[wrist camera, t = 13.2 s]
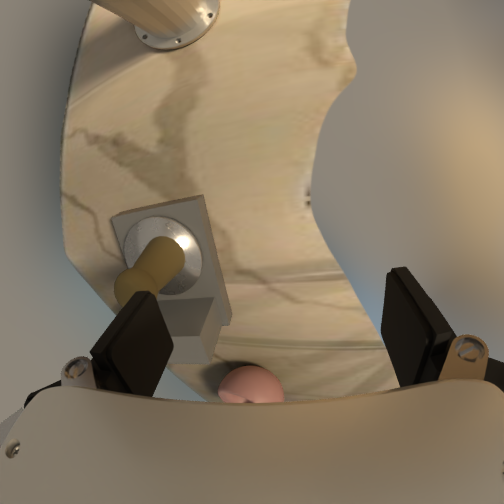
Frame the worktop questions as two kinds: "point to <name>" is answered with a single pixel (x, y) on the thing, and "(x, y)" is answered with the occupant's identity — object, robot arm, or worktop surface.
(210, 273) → the scale
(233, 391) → the mortar and pestle
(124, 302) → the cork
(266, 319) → the worktop surface
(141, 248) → the scale pan
